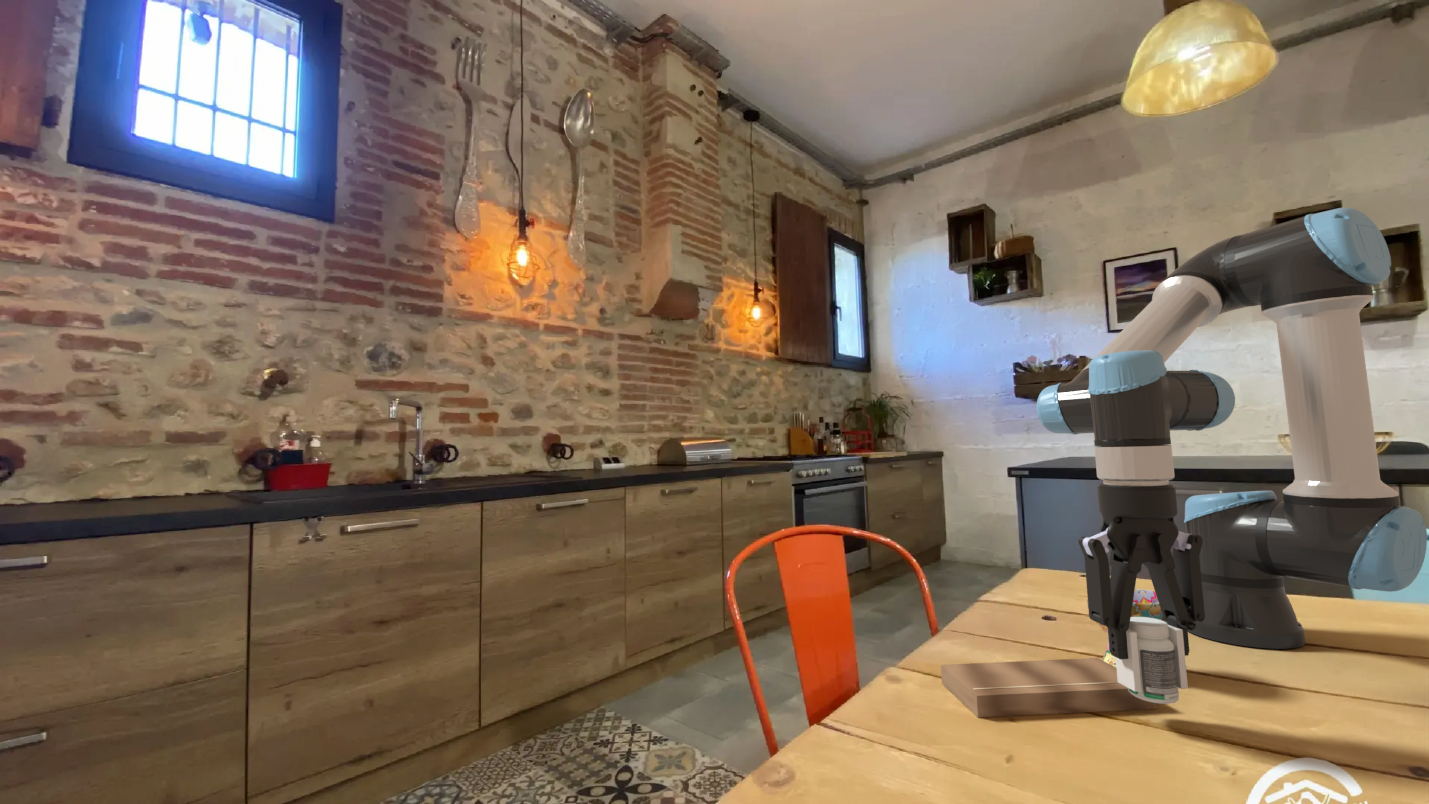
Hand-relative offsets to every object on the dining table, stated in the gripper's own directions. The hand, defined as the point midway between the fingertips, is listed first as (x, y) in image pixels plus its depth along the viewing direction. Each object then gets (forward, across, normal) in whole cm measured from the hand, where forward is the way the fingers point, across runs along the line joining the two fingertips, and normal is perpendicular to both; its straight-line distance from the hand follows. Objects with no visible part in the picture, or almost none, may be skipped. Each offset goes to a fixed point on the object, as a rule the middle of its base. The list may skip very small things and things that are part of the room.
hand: (1152, 684), depth 68 cm
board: (+4, +8, -8) cm, 12 cm away
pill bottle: (+2, 0, 0) cm, 2 cm away
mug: (+5, -9, -15) cm, 18 cm away
